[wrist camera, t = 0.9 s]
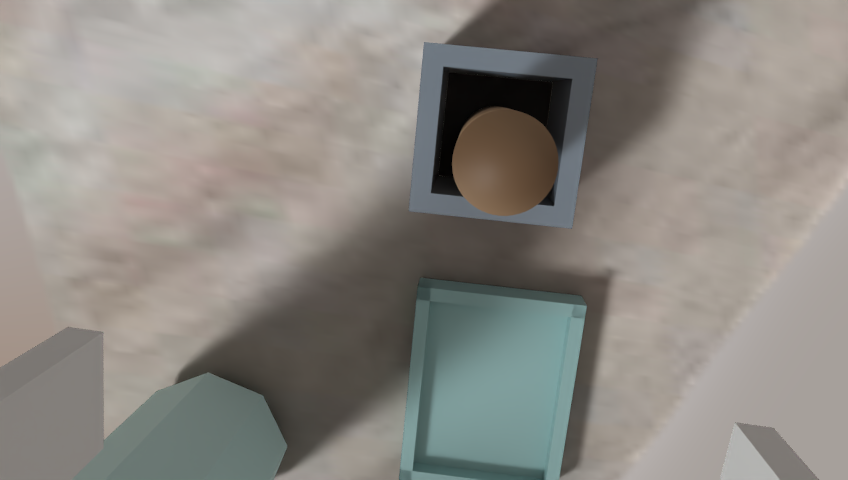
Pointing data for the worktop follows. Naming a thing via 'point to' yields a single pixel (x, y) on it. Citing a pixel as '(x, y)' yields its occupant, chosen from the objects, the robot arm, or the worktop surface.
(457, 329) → the tray
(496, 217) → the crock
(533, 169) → the dowel
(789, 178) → the worktop surface
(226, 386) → the water bottle
